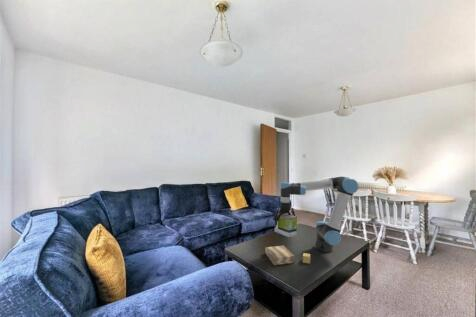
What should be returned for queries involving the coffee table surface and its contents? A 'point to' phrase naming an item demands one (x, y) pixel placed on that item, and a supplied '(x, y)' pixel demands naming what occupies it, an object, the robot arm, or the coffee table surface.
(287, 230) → the tea box
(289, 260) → the oak pedestal
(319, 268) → the coffee table surface
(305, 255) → the mustard cube
